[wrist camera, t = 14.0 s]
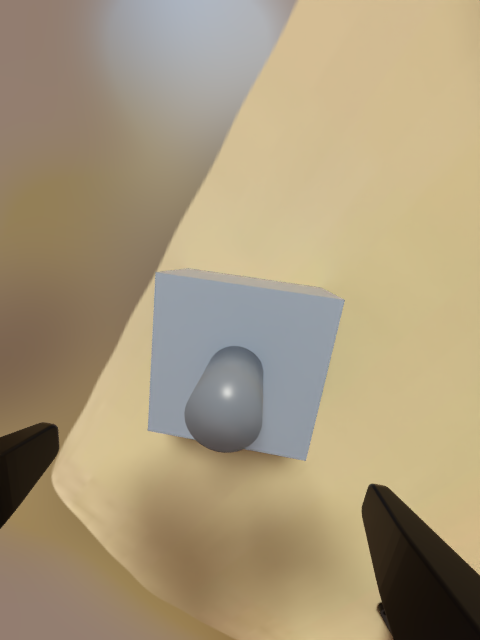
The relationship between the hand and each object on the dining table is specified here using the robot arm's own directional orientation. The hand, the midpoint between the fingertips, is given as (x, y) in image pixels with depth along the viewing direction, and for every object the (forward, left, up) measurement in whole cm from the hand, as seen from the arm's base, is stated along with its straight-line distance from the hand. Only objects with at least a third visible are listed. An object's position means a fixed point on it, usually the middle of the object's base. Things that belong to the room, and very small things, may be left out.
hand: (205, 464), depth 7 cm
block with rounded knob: (-1, 0, -13) cm, 13 cm away
